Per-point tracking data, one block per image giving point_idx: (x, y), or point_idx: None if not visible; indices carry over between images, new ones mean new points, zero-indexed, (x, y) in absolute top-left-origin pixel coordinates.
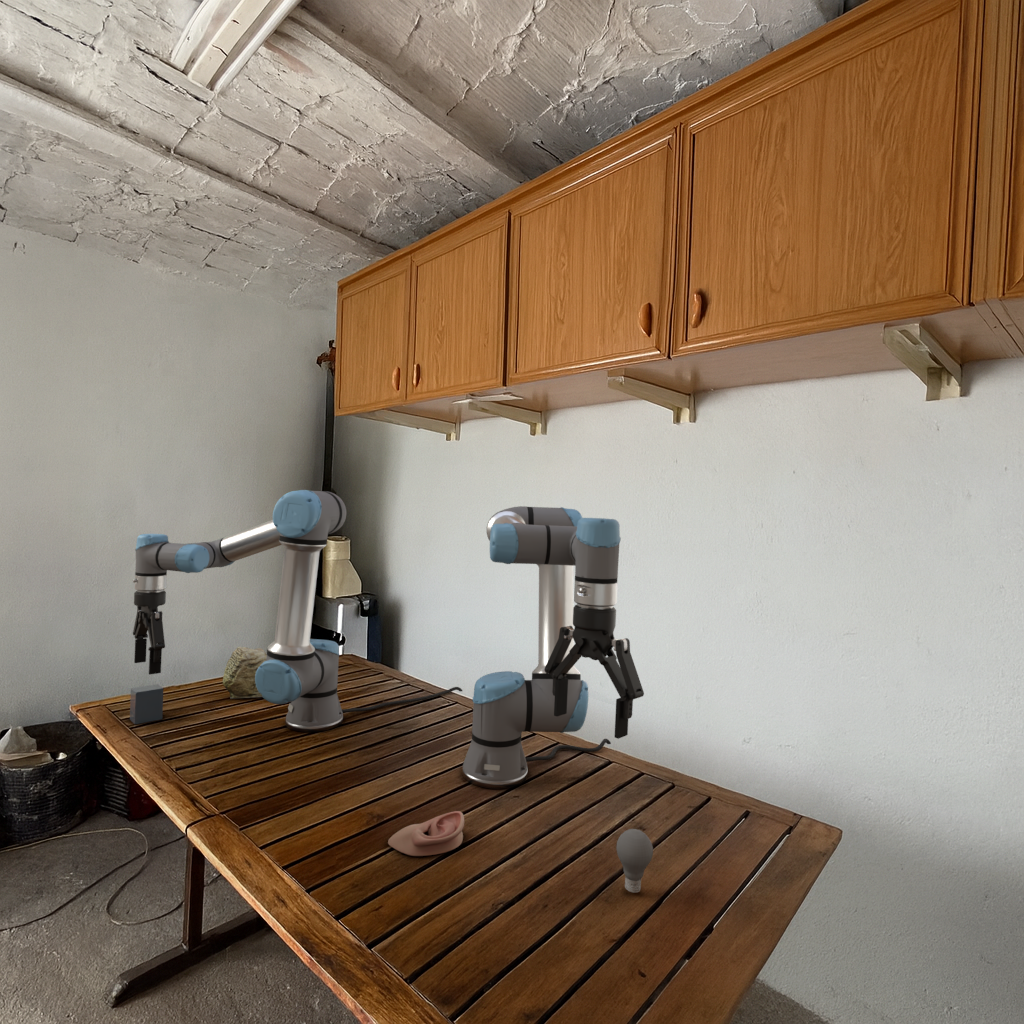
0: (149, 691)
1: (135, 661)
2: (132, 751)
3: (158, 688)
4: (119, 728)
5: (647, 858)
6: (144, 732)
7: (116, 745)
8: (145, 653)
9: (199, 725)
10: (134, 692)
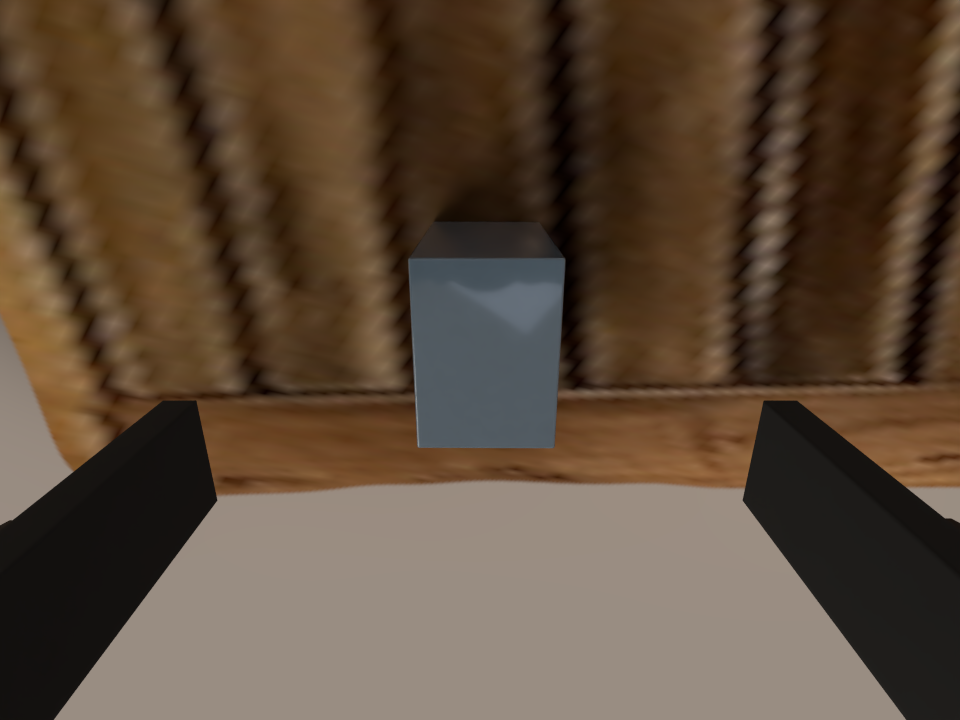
0: (558, 358)
1: (205, 508)
2: (882, 450)
3: (551, 294)
4: None
5: None
6: (684, 352)
7: None
8: (137, 465)
9: (804, 72)
10: (520, 444)
